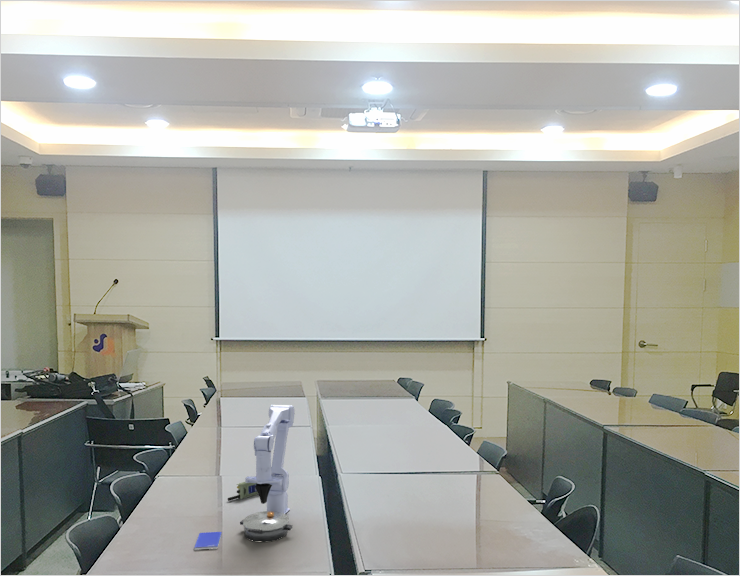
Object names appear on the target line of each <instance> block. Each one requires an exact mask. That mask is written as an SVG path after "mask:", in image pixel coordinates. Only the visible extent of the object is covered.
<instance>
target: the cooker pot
mask: <svg viewBox="0 0 740 576" xmlns="http://www.w3.org/2000/svg"><path fill="white" fill-rule="evenodd" d="M243 520H244V519H241V520H240V522H239V524H240V525H241V526H243ZM243 527H244V526H243ZM292 529H293V524H292V525H291V524H287V525H286V526H284V527H282V528H280V529H277V530H273V531H266V532H262V533H253V532H248V529H246V528H245V527H244V534H245V535H244V537H245V539H247V538H248V539H250V540H249V541H251V540H253V541H252V542H255V541H271V542H273V541H272V540H275V541H278V540H280V539H279V538H281V537H283V536H284V537H286V536H287V534H288V531H291V530H292ZM284 537H283V538H284ZM248 539H247V540H248ZM277 539H278V540H277ZM281 539H282V538H281Z"/></svg>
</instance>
